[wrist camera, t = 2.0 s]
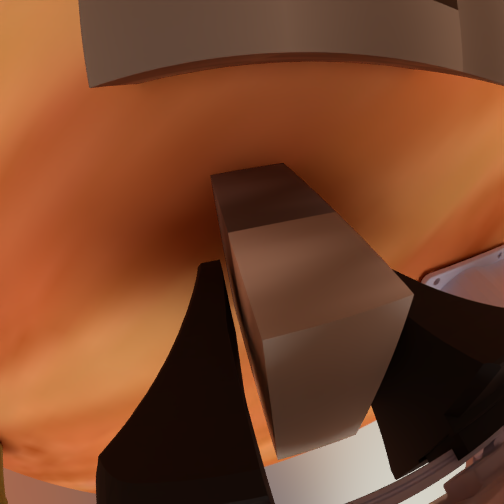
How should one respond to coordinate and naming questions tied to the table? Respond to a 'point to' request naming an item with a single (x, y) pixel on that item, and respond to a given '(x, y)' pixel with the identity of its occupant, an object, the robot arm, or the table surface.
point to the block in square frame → (289, 36)
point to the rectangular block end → (306, 306)
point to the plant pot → (2, 479)
